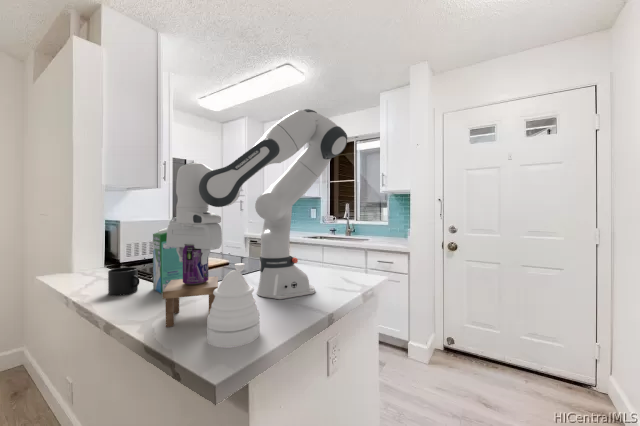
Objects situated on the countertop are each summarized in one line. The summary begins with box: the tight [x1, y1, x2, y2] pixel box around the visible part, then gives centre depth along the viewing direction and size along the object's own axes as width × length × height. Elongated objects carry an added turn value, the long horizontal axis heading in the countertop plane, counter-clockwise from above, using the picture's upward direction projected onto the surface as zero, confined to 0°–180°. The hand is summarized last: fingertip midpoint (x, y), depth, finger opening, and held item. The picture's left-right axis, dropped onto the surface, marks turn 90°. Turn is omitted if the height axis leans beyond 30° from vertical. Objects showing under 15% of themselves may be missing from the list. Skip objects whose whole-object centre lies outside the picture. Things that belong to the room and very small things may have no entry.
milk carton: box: [152, 227, 183, 294], centre depth 115 cm, size 9×9×25 cm
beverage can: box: [183, 244, 209, 285], centre depth 85 cm, size 7×7×12 cm
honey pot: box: [206, 262, 261, 349], centre depth 72 cm, size 13×13×18 cm
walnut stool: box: [162, 276, 219, 328], centre depth 85 cm, size 14×14×10 cm
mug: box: [107, 266, 140, 297], centre depth 110 cm, size 9×12×9 cm
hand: (193, 263), depth 85 cm, fingers open, 7 cm apart
